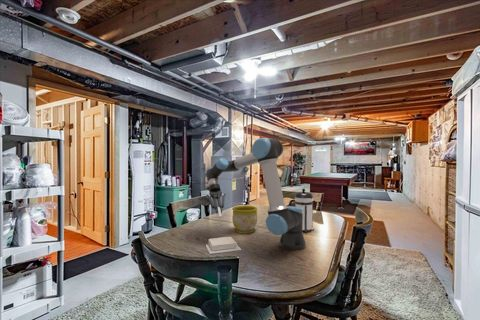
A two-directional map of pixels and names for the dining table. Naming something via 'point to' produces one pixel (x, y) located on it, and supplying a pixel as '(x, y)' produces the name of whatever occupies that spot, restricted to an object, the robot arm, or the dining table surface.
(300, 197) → the coffee press
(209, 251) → the mat
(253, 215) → the flowerpot
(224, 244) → the tile
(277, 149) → the robot arm
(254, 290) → the dining table surface
